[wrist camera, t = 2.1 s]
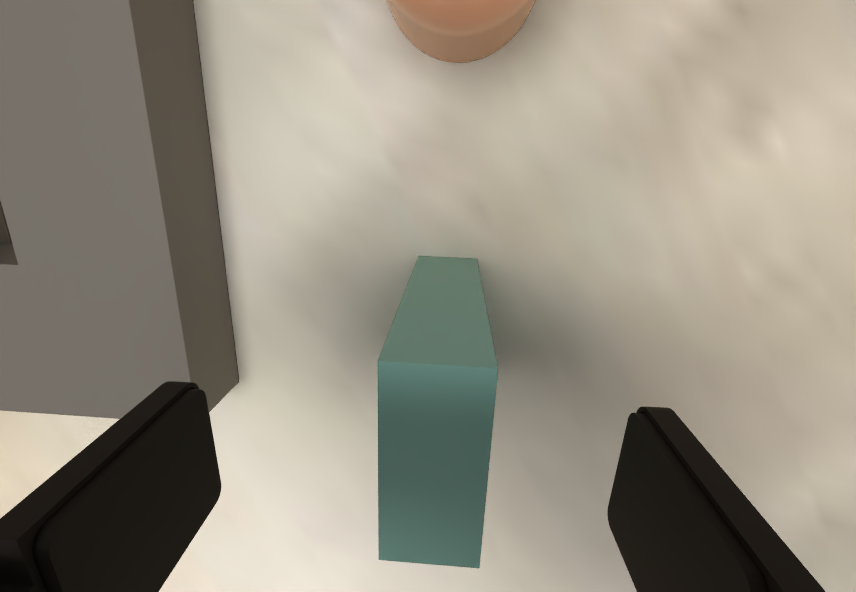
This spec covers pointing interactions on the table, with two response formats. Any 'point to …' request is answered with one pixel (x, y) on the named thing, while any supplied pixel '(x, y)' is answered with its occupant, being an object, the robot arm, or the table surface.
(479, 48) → the round terracotta peg
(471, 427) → the teal bar
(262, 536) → the table surface
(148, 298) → the socket plate
